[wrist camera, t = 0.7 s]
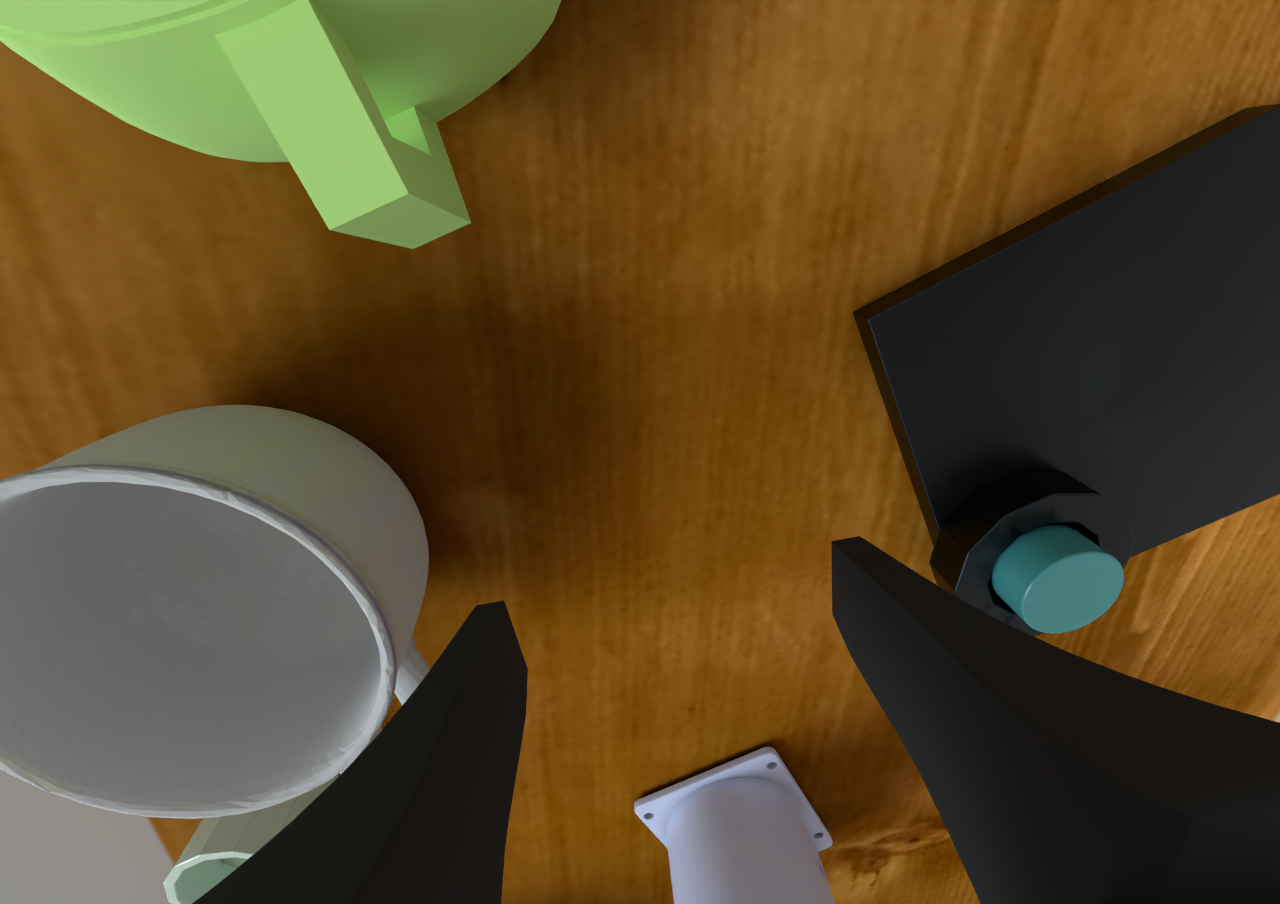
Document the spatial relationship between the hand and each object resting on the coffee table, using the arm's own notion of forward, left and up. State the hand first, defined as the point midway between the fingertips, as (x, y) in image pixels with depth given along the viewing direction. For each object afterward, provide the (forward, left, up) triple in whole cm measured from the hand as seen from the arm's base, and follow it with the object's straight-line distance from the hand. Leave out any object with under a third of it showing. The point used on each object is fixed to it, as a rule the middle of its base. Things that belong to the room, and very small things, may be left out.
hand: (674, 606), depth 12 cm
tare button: (-11, -11, -6) cm, 17 cm away
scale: (-7, -15, -9) cm, 19 cm away
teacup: (+2, +12, -9) cm, 15 cm away
